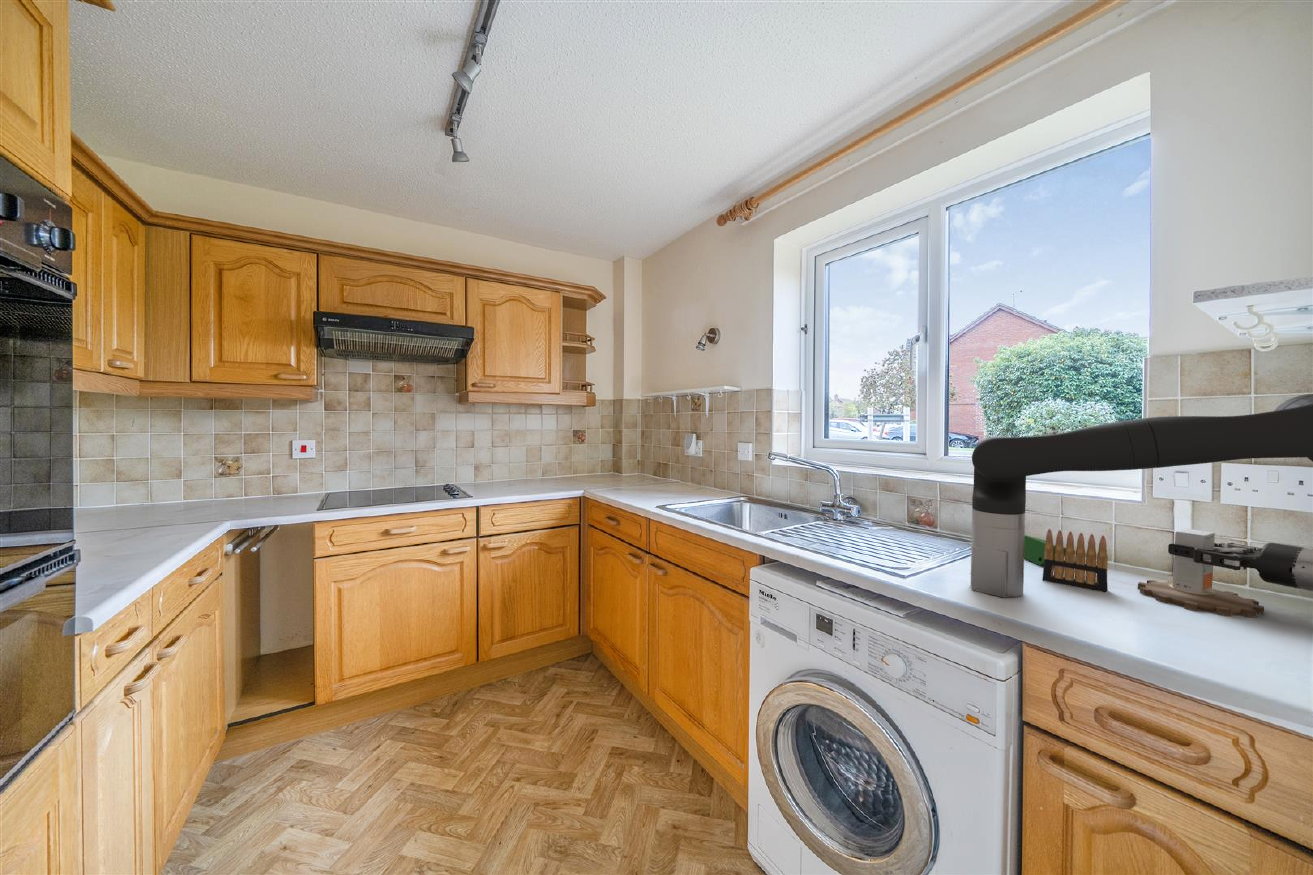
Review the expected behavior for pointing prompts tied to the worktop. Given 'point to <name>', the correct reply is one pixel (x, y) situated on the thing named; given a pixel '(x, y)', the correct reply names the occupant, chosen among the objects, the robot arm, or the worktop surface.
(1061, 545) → the ammunition clip
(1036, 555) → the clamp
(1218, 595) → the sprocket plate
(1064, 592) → the worktop surface
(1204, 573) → the skincare box
